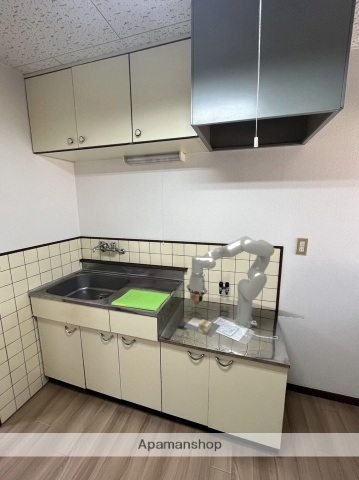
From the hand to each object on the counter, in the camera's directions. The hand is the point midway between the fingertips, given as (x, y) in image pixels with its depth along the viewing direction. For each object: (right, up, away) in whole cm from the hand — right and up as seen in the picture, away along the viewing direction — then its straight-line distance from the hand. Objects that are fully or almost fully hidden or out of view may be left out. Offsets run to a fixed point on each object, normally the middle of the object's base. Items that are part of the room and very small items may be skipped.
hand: (196, 299), depth 149 cm
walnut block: (0, -2, 0) cm, 2 cm away
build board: (+4, -19, 0) cm, 19 cm away
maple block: (+5, -19, -6) cm, 21 cm away
